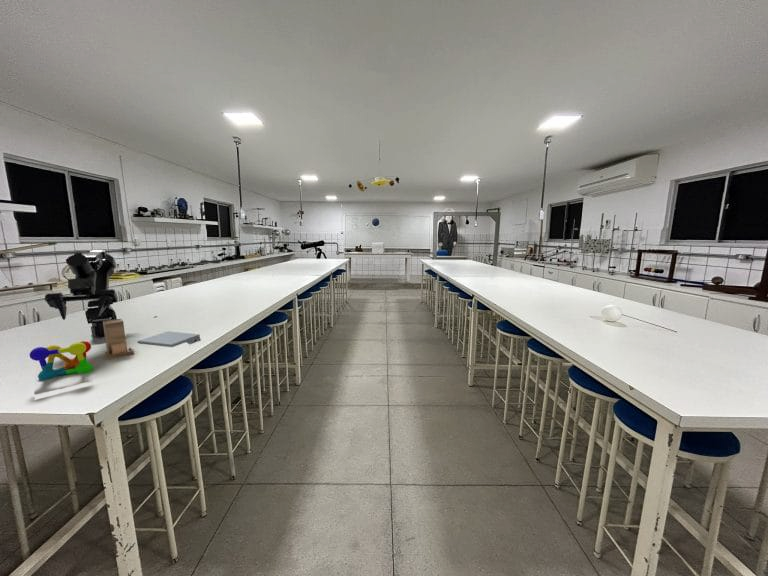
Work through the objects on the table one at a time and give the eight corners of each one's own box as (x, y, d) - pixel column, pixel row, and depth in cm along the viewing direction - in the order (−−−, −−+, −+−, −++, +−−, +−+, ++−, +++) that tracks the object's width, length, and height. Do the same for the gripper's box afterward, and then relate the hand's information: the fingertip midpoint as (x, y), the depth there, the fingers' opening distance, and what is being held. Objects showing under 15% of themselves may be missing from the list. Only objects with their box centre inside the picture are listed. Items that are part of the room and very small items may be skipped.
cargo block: (112, 354, 108) (111, 345, 107) (125, 351, 110) (123, 342, 110) (114, 357, 105) (112, 347, 105) (126, 354, 108) (125, 344, 107)
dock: (137, 345, 120) (137, 340, 120) (168, 335, 133) (167, 331, 132) (171, 349, 116) (171, 344, 116) (200, 338, 129) (199, 334, 128)
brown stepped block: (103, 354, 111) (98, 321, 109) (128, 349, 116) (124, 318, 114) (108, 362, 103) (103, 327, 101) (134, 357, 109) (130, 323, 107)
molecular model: (73, 367, 101) (102, 330, 101) (80, 391, 94) (111, 352, 95) (8, 361, 88) (42, 319, 89) (11, 388, 82) (48, 343, 83)
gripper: (41, 271, 106) (33, 309, 99) (111, 268, 115) (109, 302, 108) (53, 289, 114) (47, 325, 107) (118, 285, 123) (117, 318, 116)
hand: (81, 317), depth 109 cm, fingers open, 9 cm apart
